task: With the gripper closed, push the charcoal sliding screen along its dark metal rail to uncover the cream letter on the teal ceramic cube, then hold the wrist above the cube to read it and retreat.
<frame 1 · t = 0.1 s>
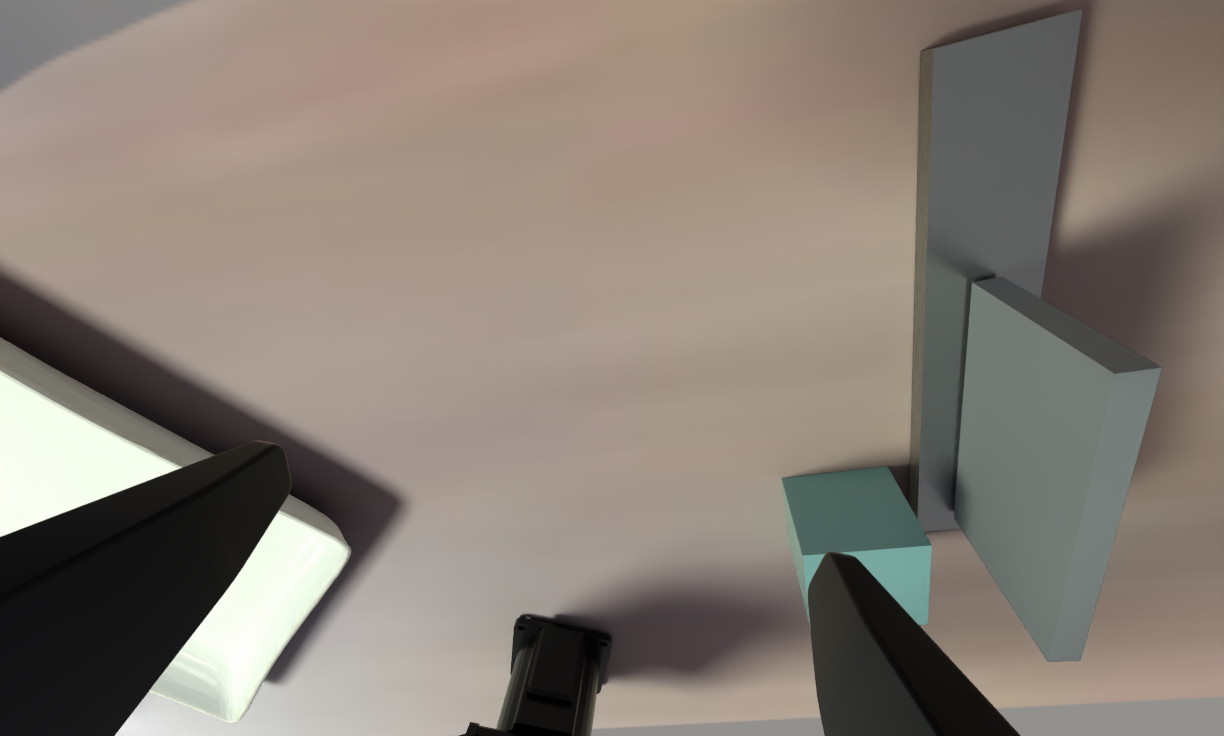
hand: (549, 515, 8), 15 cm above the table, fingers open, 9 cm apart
rail: (966, 326, 21), on the table
square plate: (131, 512, 34), on the table
screen: (1024, 466, 18), point 5 cm above the table, slide at 0.0 cm
cube: (835, 508, 26), on the table
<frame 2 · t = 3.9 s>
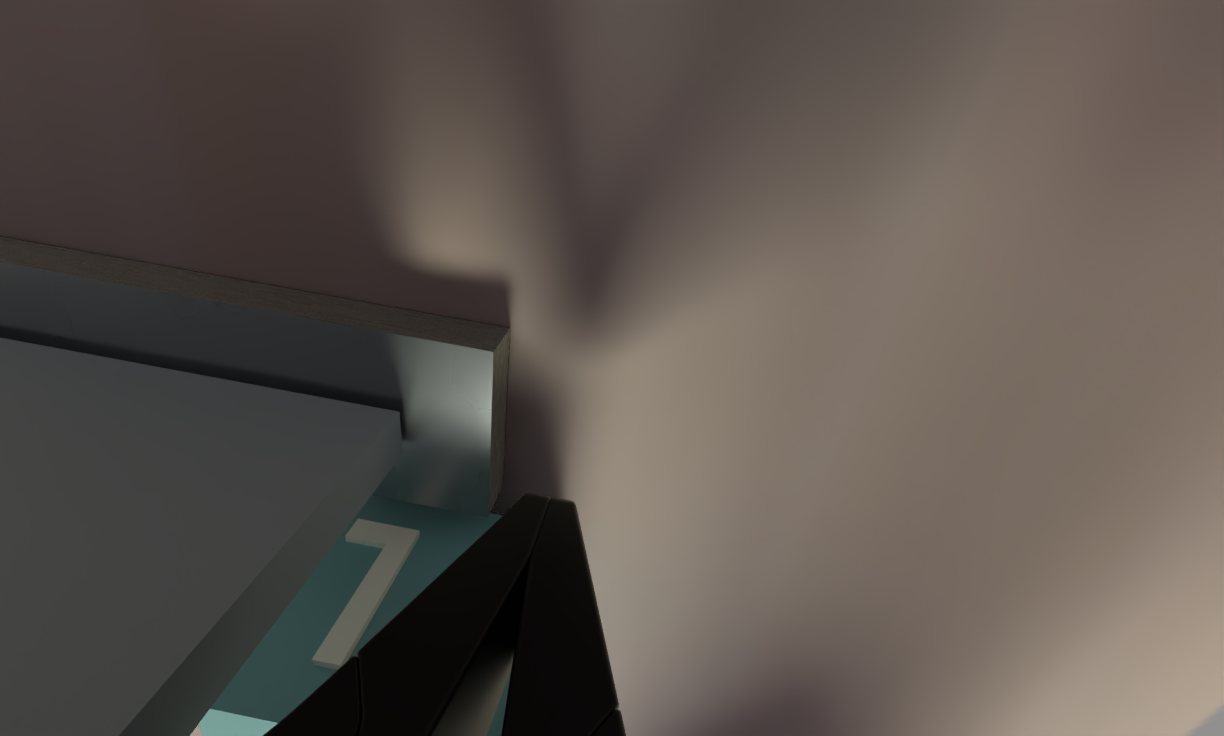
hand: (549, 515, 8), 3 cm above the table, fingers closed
rail: (28, 325, 11), on the table
cube: (462, 573, 13), on the table
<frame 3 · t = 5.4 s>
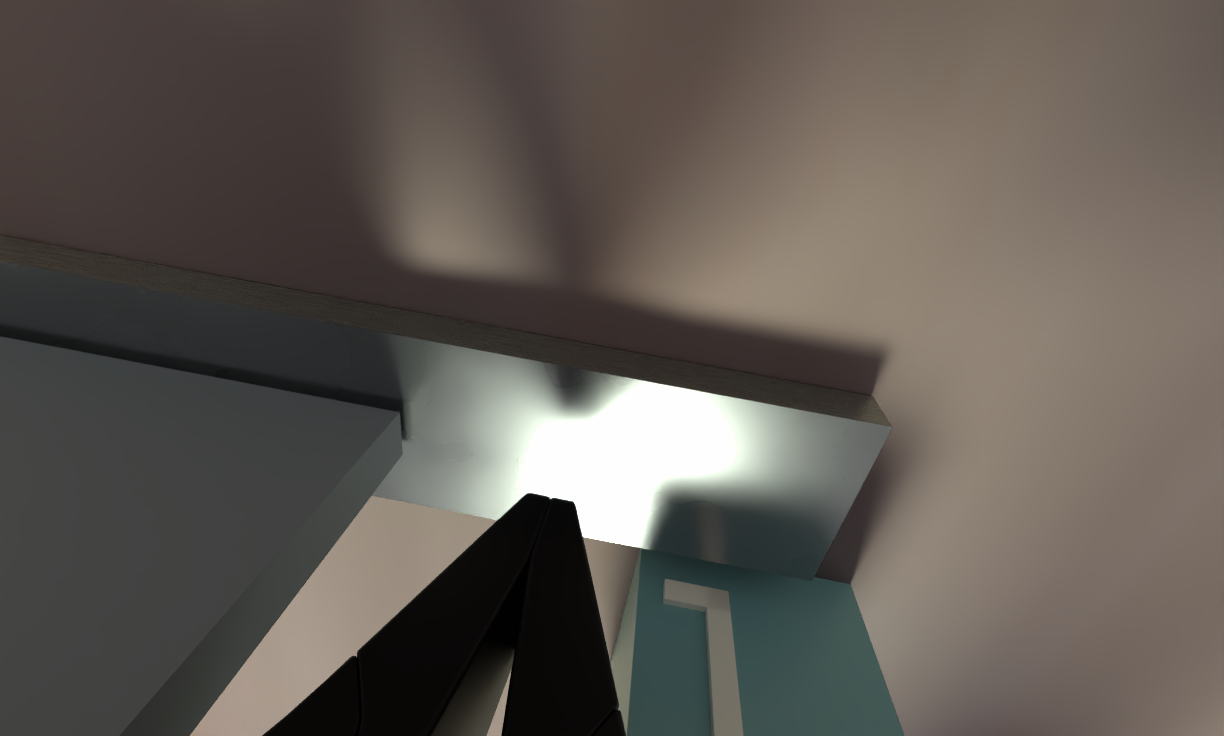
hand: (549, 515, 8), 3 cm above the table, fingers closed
rail: (340, 383, 11), on the table
cube: (718, 624, 13), on the table
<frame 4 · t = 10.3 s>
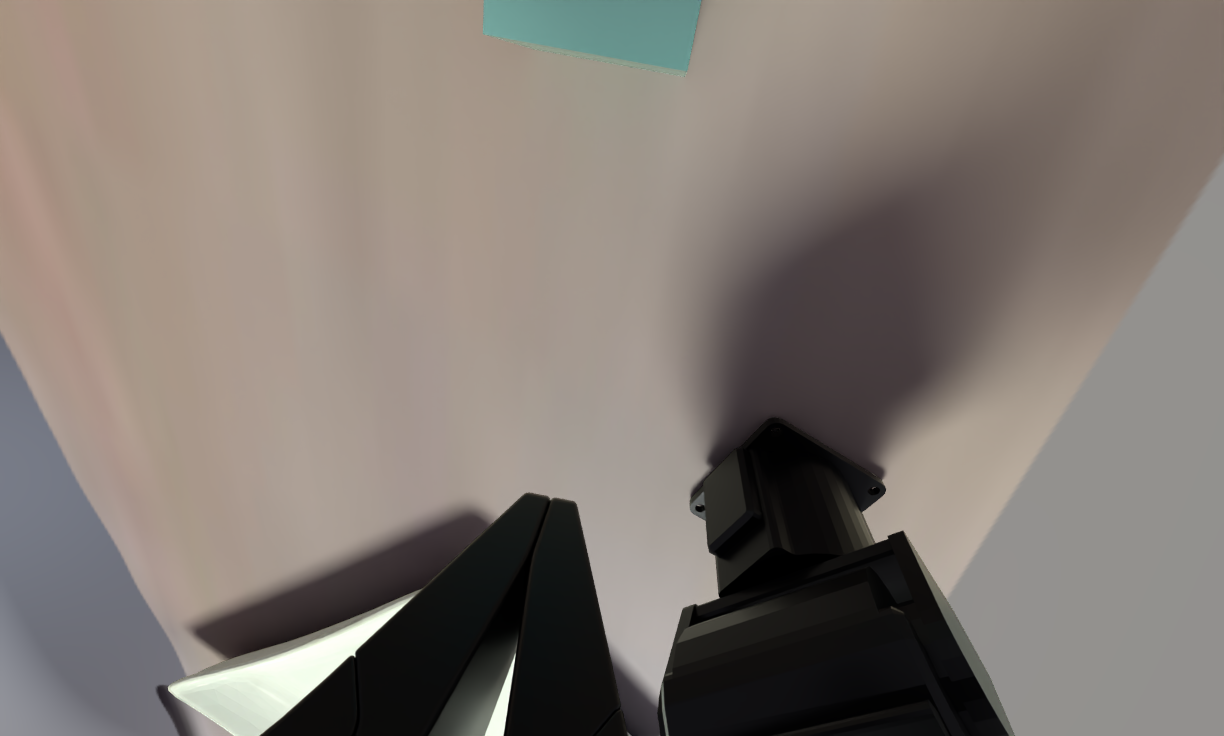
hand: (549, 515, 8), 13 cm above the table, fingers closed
square plate: (456, 699, 37), on the table
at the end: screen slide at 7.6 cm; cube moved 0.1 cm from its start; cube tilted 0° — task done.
